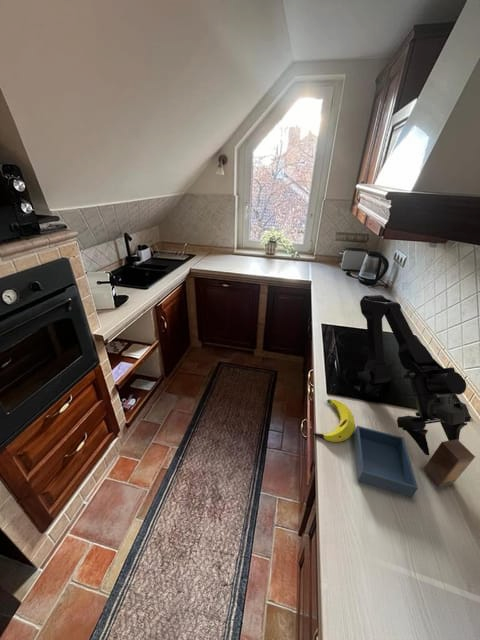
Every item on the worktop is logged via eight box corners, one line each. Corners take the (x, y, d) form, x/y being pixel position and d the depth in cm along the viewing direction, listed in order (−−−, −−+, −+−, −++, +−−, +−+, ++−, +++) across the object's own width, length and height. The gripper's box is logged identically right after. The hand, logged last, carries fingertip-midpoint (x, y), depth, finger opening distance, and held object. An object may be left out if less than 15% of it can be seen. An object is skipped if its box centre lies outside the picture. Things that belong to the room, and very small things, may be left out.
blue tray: (352, 435, 82) (356, 425, 80) (397, 447, 79) (403, 437, 77) (357, 482, 70) (362, 471, 67) (410, 498, 66) (418, 488, 64)
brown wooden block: (422, 469, 73) (441, 441, 67) (436, 466, 74) (457, 438, 68) (437, 488, 69) (459, 460, 62) (452, 485, 70) (476, 457, 63)
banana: (344, 393, 92) (302, 397, 93) (365, 433, 77) (316, 438, 78) (343, 402, 94) (303, 406, 95) (364, 443, 79) (316, 448, 80)
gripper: (421, 398, 64) (439, 466, 60) (481, 390, 67) (502, 454, 63) (389, 397, 75) (403, 455, 71) (442, 390, 78) (458, 445, 74)
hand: (441, 452), depth 70 cm, fingers open, 9 cm apart
